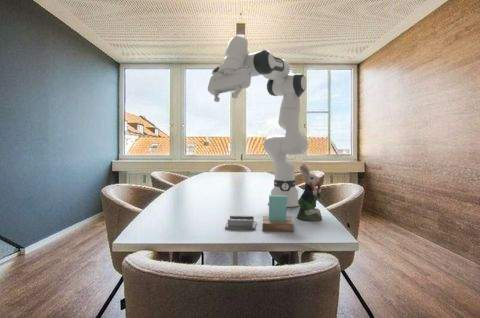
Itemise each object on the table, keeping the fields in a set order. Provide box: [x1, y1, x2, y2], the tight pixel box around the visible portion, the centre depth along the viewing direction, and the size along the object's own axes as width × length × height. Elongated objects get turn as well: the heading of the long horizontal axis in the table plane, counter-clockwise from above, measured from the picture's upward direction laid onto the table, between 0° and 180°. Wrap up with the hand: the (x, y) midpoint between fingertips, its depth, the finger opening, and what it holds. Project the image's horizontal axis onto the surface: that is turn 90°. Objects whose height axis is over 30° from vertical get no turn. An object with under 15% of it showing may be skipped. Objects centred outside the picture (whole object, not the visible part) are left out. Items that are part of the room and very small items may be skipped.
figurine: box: [296, 163, 323, 222], centre depth 143 cm, size 11×13×25 cm
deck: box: [261, 215, 294, 233], centre depth 129 cm, size 12×12×3 cm
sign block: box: [268, 194, 288, 221], centre depth 129 cm, size 3×7×10 cm, turn 85°
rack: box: [224, 214, 257, 231], centre depth 130 cm, size 10×12×4 cm
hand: (225, 99), depth 126 cm, fingers open, 8 cm apart
